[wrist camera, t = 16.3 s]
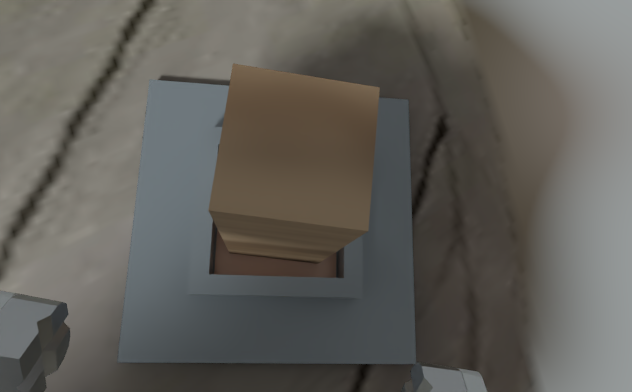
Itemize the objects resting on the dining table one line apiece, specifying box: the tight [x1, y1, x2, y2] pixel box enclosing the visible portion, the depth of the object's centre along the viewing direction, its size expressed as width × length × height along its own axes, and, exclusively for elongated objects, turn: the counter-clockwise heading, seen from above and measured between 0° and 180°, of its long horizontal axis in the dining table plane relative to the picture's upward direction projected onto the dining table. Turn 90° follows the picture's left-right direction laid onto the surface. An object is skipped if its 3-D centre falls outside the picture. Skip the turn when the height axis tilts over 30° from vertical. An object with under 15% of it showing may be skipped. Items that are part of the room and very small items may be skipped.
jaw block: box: [208, 64, 380, 264], centre depth 21 cm, size 5×5×12 cm
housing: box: [117, 80, 416, 364], centre depth 26 cm, size 16×16×3 cm
